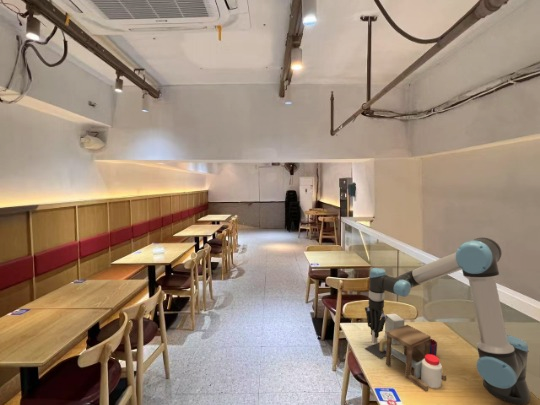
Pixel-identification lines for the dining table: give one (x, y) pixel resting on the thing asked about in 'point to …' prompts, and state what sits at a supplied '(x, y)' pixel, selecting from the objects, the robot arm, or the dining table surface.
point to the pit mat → (376, 350)
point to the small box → (393, 325)
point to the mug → (433, 347)
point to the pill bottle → (431, 371)
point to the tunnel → (410, 349)
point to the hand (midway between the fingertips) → (374, 342)
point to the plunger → (402, 357)
